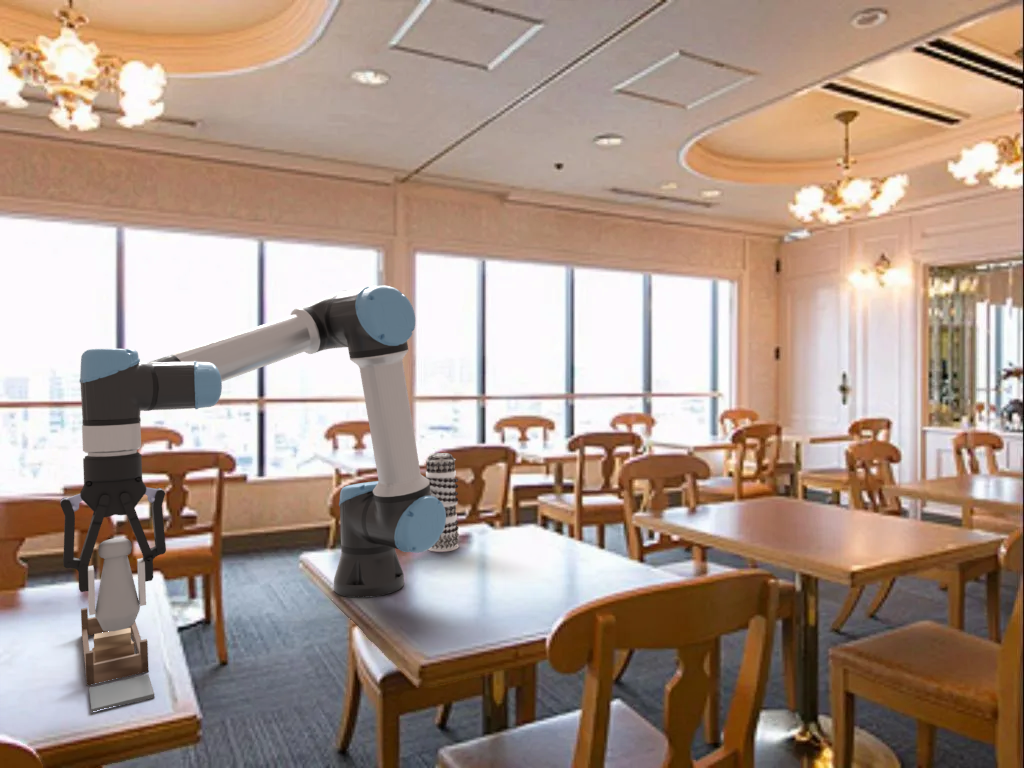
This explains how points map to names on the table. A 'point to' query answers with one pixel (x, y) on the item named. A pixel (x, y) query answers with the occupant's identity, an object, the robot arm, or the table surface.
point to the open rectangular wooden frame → (114, 666)
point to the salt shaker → (116, 587)
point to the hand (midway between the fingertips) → (117, 607)
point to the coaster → (121, 692)
